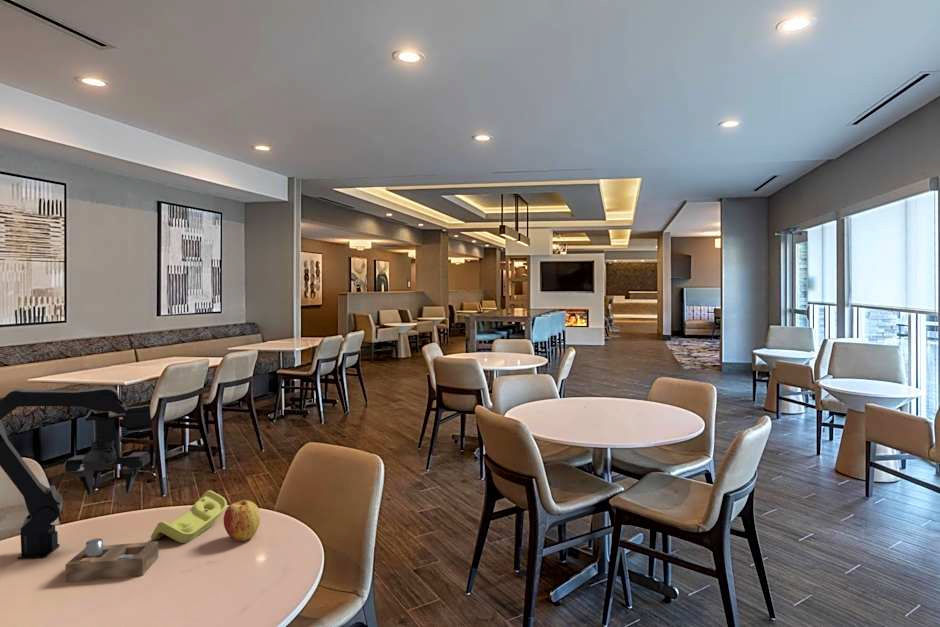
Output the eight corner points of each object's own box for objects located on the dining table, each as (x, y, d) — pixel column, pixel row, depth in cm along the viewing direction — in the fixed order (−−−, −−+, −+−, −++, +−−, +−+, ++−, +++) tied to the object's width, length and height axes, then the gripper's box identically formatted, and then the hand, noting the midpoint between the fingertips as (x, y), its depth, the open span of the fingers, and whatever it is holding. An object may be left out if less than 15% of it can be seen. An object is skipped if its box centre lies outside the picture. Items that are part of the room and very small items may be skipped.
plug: (84, 574, 129) (83, 544, 128) (91, 568, 132) (90, 539, 131) (99, 573, 129) (98, 543, 129) (106, 566, 132) (105, 537, 132)
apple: (228, 533, 150) (227, 496, 150) (263, 529, 152) (262, 493, 152) (221, 547, 141) (220, 508, 141) (259, 543, 143) (257, 505, 143)
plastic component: (188, 536, 143) (156, 518, 144) (179, 560, 144) (147, 542, 146) (234, 502, 163) (205, 487, 164) (225, 523, 164) (196, 508, 165)
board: (65, 582, 125) (65, 563, 125) (86, 563, 134) (86, 545, 134) (142, 575, 128) (142, 556, 128) (158, 557, 137) (157, 540, 137)
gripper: (50, 444, 138) (52, 507, 138) (131, 440, 141) (133, 502, 141) (75, 434, 149) (77, 492, 149) (150, 430, 152) (151, 487, 152)
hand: (109, 493), depth 148 cm, fingers open, 9 cm apart
